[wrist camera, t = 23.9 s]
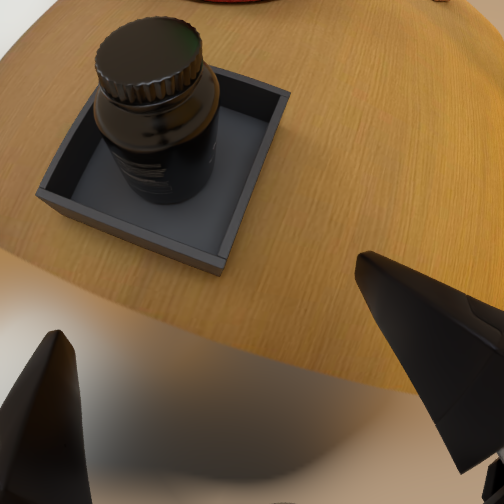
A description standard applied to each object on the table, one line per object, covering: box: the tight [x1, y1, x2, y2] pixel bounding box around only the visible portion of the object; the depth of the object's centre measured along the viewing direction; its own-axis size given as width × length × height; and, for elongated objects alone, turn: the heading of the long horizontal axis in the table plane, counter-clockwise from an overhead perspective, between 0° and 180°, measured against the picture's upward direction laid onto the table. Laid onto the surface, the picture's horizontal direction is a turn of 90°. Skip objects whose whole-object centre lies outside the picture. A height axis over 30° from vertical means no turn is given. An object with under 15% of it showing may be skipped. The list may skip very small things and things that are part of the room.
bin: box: [35, 65, 291, 276], centre depth 21 cm, size 13×13×4 cm
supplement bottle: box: [94, 16, 220, 204], centre depth 17 cm, size 7×7×12 cm
